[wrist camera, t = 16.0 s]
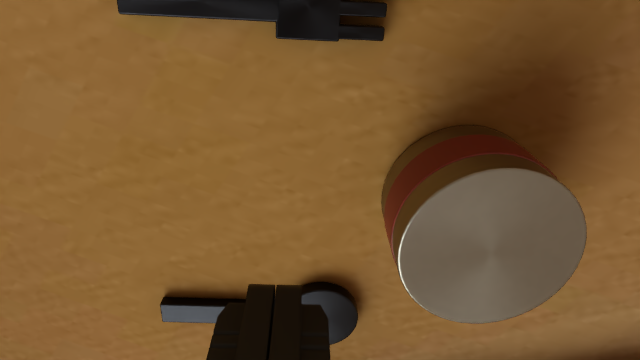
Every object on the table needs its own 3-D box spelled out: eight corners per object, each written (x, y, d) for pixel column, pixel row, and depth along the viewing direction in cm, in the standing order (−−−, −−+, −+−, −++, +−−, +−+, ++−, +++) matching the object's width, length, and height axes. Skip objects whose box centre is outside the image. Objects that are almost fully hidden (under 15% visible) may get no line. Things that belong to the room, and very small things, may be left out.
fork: (126, 29, 17) (120, 31, 17) (117, -41, 16) (110, -41, 16) (381, 41, 18) (383, 44, 17) (388, -26, 16) (390, -26, 16)
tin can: (351, 178, 20) (360, 232, 16) (495, 91, 18) (547, 127, 14) (424, 281, 23) (448, 350, 19) (557, 214, 21) (614, 273, 17)
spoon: (168, 332, 24) (164, 342, 23) (160, 276, 22) (155, 285, 22) (353, 337, 24) (354, 347, 24) (359, 282, 23) (361, 291, 22)
